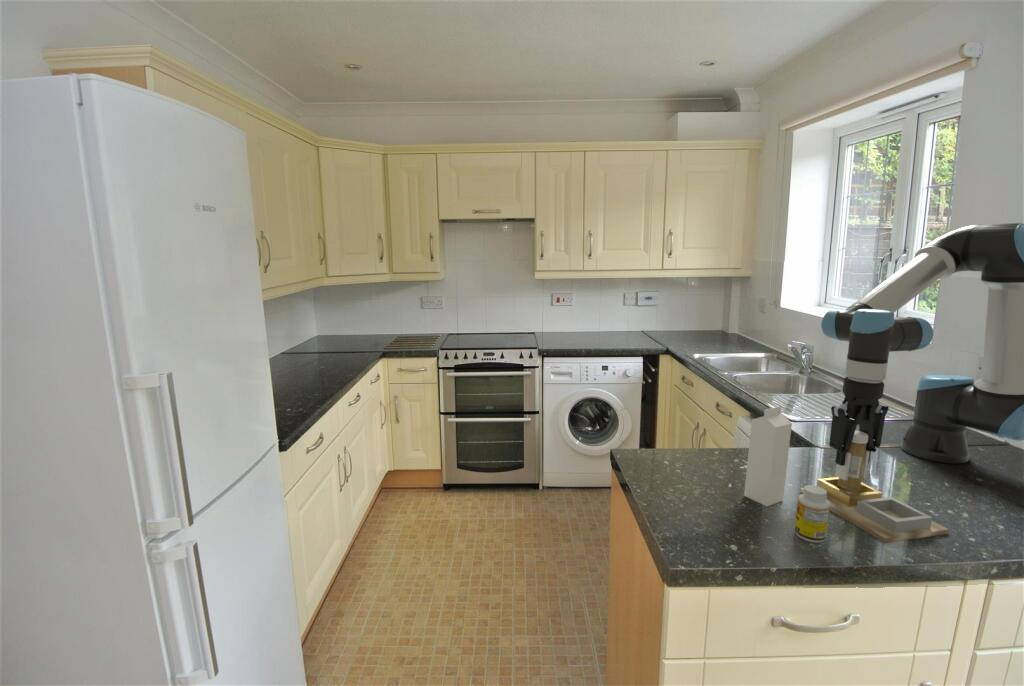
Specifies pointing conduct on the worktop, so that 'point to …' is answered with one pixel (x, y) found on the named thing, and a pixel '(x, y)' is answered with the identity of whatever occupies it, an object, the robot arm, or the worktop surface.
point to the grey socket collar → (909, 523)
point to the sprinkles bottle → (855, 462)
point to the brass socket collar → (844, 497)
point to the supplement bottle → (812, 514)
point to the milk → (768, 457)
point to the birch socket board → (875, 528)
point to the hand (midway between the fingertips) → (850, 476)
